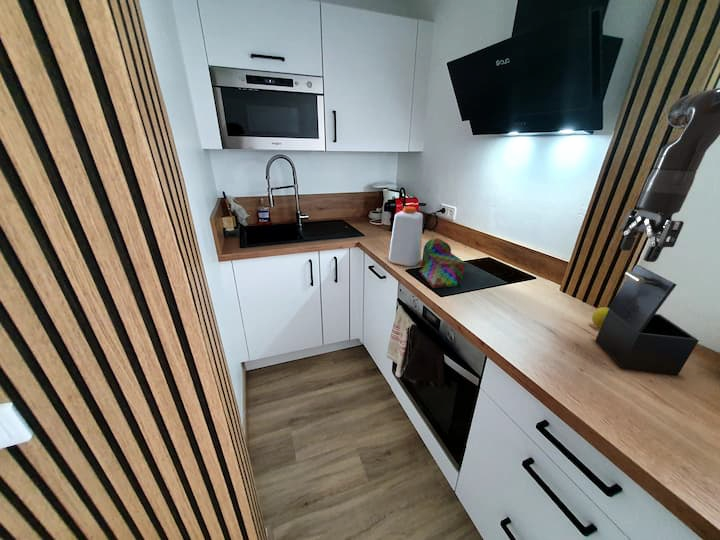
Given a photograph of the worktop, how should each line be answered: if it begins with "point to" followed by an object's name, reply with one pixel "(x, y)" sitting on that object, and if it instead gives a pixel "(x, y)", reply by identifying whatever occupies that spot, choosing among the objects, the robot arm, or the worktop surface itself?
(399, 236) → the plastic bottle
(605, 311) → the lemon
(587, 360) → the worktop surface
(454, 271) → the rainbow lumpy figurine
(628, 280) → the bin lid
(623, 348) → the bin
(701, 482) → the worktop surface
